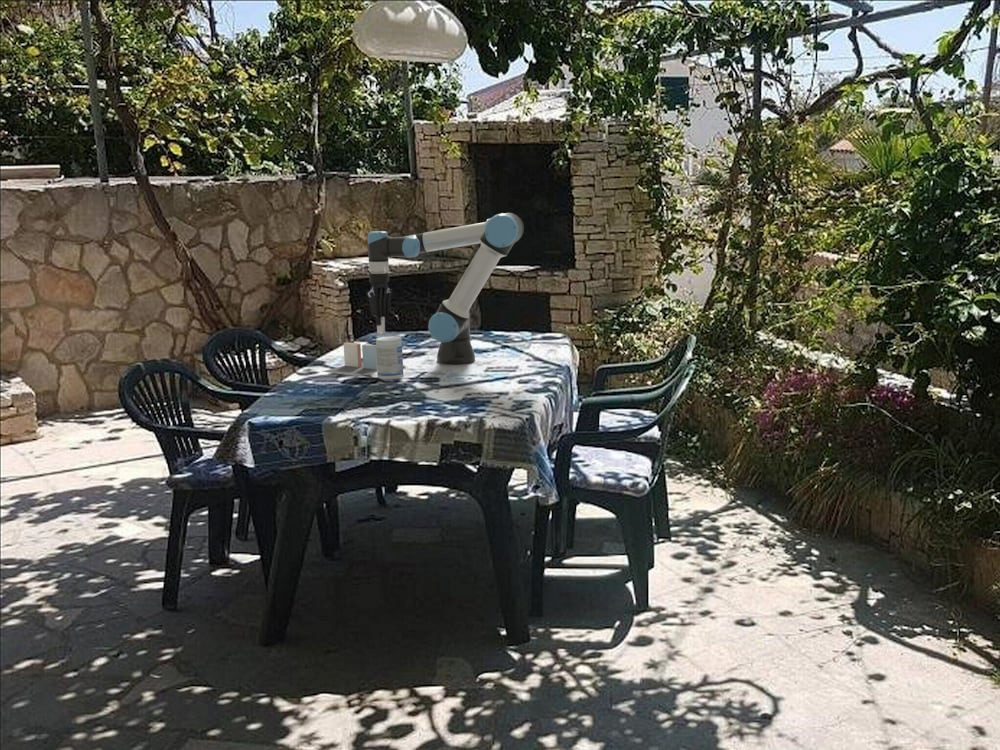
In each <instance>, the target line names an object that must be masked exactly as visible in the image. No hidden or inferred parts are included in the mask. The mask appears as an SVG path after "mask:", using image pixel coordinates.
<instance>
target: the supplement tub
mask: <svg viewBox="0 0 1000 750" xmlns="http://www.w3.org/2000/svg"><path fill="white" fill-rule="evenodd" d="M375 345H376V358H377V370H376V371H377V373H376V374H377V378H378V379H380V380H399V379H402V378H403V377H404V360H403V359H404V356H403V341H402V337H400V336H380V337H377V338H375Z"/></svg>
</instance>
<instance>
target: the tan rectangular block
mask: <svg viewBox="0 0 1000 750" xmlns="http://www.w3.org/2000/svg"><path fill="white" fill-rule="evenodd" d="M361 350H362V351H361V355H362V361H363V368H367V369H375V370H376V371H377V358H376V344H367V343H365V344H361Z"/></svg>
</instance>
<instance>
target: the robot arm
mask: <svg viewBox="0 0 1000 750" xmlns="http://www.w3.org/2000/svg"><path fill="white" fill-rule="evenodd" d="M524 228H525V227H524V223H523V221H522V219H521V218H520V217H519V216H518V215H517V214H515V213H513V212H506V213H503V212H502V213H497V214H495V215H493V216H492V217H490V218H487V219H486V221H485V222H484V221H483V222H479V223H472V224H467V225H460V226H455V227H450V228H445V229H438V230H433V231H426V232H423V233H422V232H421V233H413V234H409V235H405V236H389V234H388V232H387V231H381V230H380V231H379V230H375V231H373V230H372V231H370V232H368V233H367V254H368V271H369V272H370V273H369V274H368V280H369V281H368V282H369V283H370V284H371V285H370V290H369V291H366V292H365V293H366V296H367V298H368V302H369V303H368V304H369V308H370V312H371V313H370V314H371V316H373V317H375V324H376V334H380V335H385V334H386V326H385V325H386V317H388V315H389V314H390V308H391V307H390V306H391V298H392V293H393V289H392V288H389V284H388V283H389V282H390V273H389V271H390V263H389V262H390V261H389V258H393V257H394V258H396V257H397V258H416V257H418V256H419V254H423V253H424V254H425V253H429V252H435V251H436V252H437V251H440V250H448V249H452V248H453V249H454V248H458V247H459V248H460V247H466V246H471V245H477V244H480V247H479V248H478V249H477V251H476V253H475V254H474V256H473V258H472V259H471V261H470V263H469V264H468V267H467V268H466V269H465V271H464V273H463V275H462V277H461V278H460V280H459V281H458V283H457V284H456V287H455V288H454V290H453V291H452V293H451V295H450V297H449V298H448V299H444V300H443V301H442V302H441V304H439V307H438V309H437V310H436V312H435V313H434V314H432V316H431V317H430V318H429V321H428V325H427V326H428V327H427V328H428V332H429V334H430V336H431V338H433V339H434V340H435V341H437V342H439V343H440V344H439V346H438V347H439V348H438V352H437V355H436V361H437V363H439V364H446V365H463V364H470V363H473V362H475V360H476V355H475V352H474V349H473V346H472V344H471V325H470V323H471V322H470V320H471V319H470V318H471V317H470V316H471V315H470V313H471V311H470V309H471V307H472V305H473V304H474V302H475V301H476V299H477V297H478V295H480V292H481V290H483V287H484V286H485V285H486V283H487V280H488V279H489V278H490V277H491V274H492V273H493V271H494V269H495V268H496V266H497V264H498V263H499V261H500V259H501V258H503V257H507V256H508V254H509V253H510V251H511V250H512V247H513V246H514V245H515V243H516V242H519V240H520V239H521V238H522V237H523V234H524Z"/></svg>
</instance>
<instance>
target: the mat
mask: <svg viewBox="0 0 1000 750" xmlns="http://www.w3.org/2000/svg"><path fill="white" fill-rule="evenodd" d="M361 365H362V367H351V366H345V365H342V366H338V367H334V368H331V369H327V370H323V371H322V372H323V373H324V372H325V373H329V374H331V373H332V374H338V375H345V376H351V377H352V376H354V377H358V376H361V375H362V376H363V375H366V374H368V373H372V372H376V371H377V370H375V369H367V368H363V360H361Z"/></svg>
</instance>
